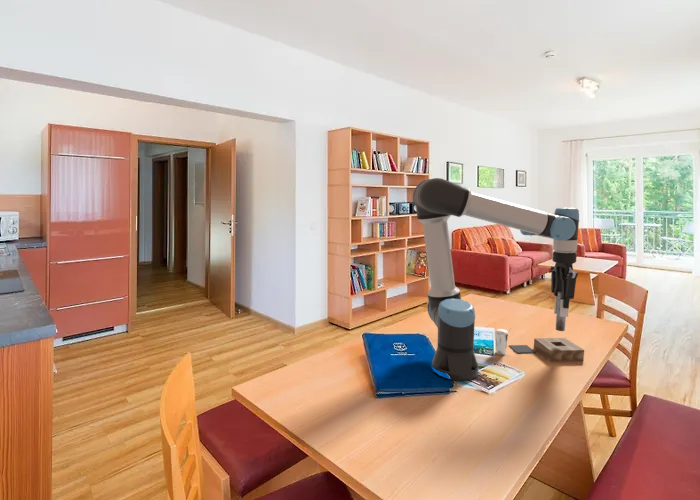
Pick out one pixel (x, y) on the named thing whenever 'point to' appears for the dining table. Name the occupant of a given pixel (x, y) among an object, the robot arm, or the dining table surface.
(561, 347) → the hole block
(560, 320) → the pin
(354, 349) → the dining table surface
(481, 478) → the dining table surface
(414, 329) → the dining table surface
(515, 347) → the mat
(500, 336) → the milkshake
